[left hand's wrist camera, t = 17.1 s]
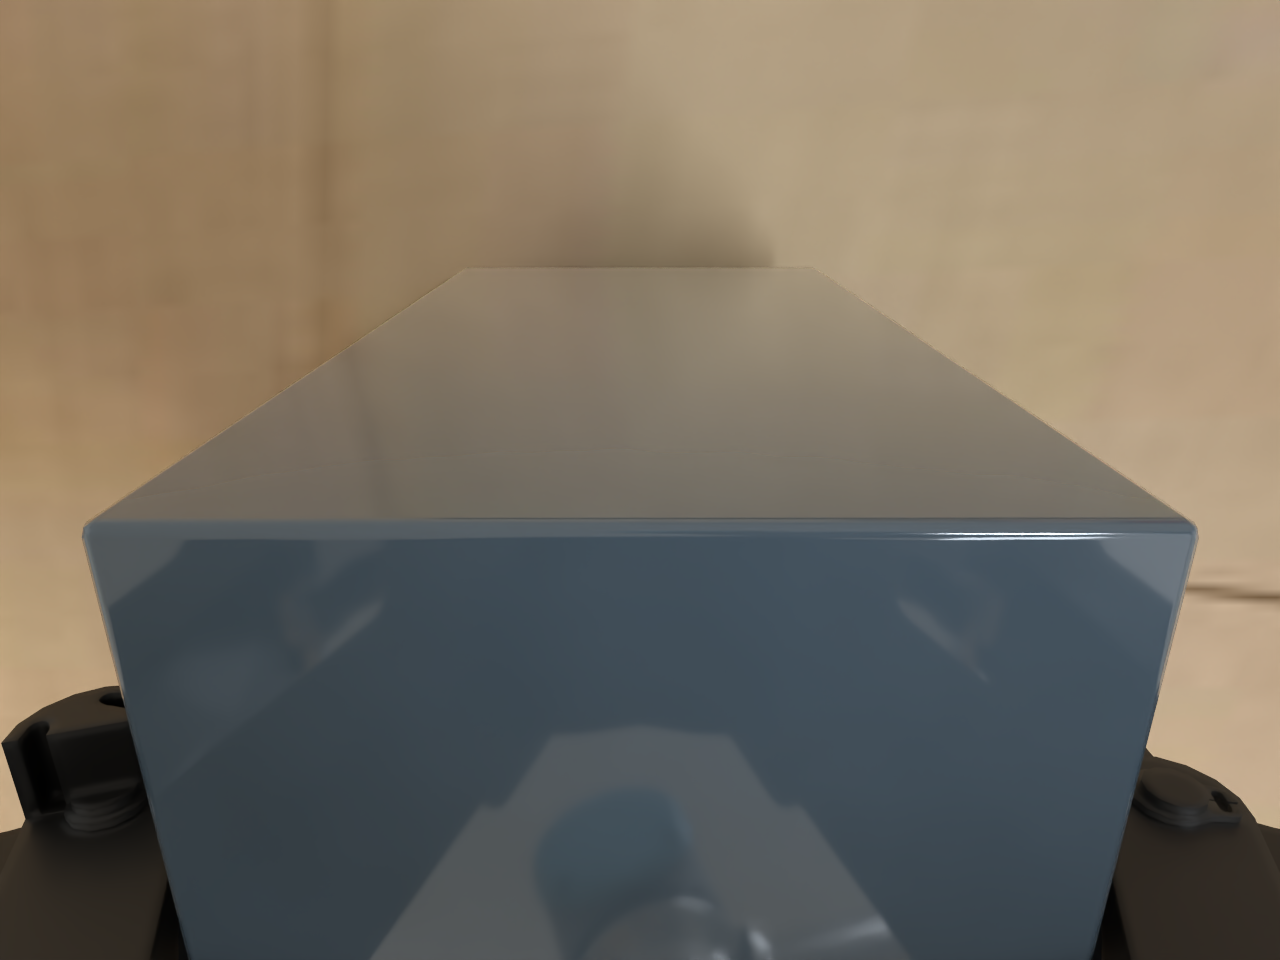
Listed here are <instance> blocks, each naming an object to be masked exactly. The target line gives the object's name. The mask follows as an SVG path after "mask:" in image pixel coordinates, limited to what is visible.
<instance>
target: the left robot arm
mask: <svg viewBox="0 0 1280 960" xmlns="http://www.w3.org/2000/svg"><path fill="white" fill-rule="evenodd" d="M1 744H2V747H3V750H4V753H5V756H6V759H7V762H8V765H9V769H10V772H11V775H12V778H13V781H14V784H15V787H16V791H17V794H18V797H19V800H20V803H21V806H22V809H23V812H24V816H25V822H24V824H23V826H22V828H18V829H15V830H11V831H7V832H2V833H0V960H188V956H187V952H186V948H185V944H184V940H183V936H182V932H181V928H180V924H179V920H178V916H177V912H176V908H175V904H174V900H173V896H172V892H171V888H170V885H169V881H168V877H167V873H166V869H165V865H164V861H163V857H162V853H161V849H160V845H159V841H158V837H157V833H156V829H155V825H154V821H153V817H152V813H151V809H150V805H149V801H148V797H147V793H146V790H145V786H144V782H143V778H142V774H141V770H140V766H139V762H138V758H137V754H136V750H135V746H134V742H133V738H132V734H131V730H130V726H129V722H128V718H127V714H126V710H125V706H124V702H123V698H122V695H121V691H120V687H119V686H109V687H103V688H99V689H95V690H91V691H87V692H83V693H79V694H75V695H72V696H70V697H67V698H65V699H63V700H60V701H58V702H55V703H53V704H51V705H48V706H46V707H44V708H42V709H40V710H39V711H37V712H36V713H34V714H33V715H31V716H30V717H28V718H27V719H25V720H24V721H22V722H21V723H19V724H18V725H17V726H16V727H15V728H14V729H13V730H12V731H11V733H10V734H9V735H8V736H7V737H6V738H5V739H4V740H3V742H2V743H1ZM1092 960H1280V829H1277V828H1273V827H1269V826H1265V825H1262V824H1258V823H1257V822H1256V820H1255V818H1254V817H1253V815H1252V814H1251V812H1250V811H1249V810H1248V808H1247V807H1246V806H1245V804H1244V803H1243V802H1242V800H1241V799H1240V798H1239V797H1238V796H1236V795H1235V794H1234V793H1232V792H1231V791H1230V790H1228V789H1227V788H1226V787H1224V786H1223V785H1222V784H1221V783H1219V782H1218V781H1217V780H1215V779H1213V778H1211V777H1209V776H1207V775H1205V774H1203V773H1201V772H1199V771H1197V770H1195V769H1193V768H1190V767H1188V766H1186V765H1183V764H1179V763H1176V762H1172V761H1169V760H1165V759H1162V758H1158V757H1153V756H1152V755H1151V753H1150V752H1149V751H1148V750H1147V749H1146V748H1145V752H1144V756H1143V760H1142V764H1141V768H1140V772H1139V776H1138V780H1137V784H1136V788H1135V791H1134V795H1133V799H1132V803H1131V807H1130V811H1129V815H1128V819H1127V823H1126V827H1125V831H1124V835H1123V839H1122V843H1121V847H1120V851H1119V855H1118V859H1117V863H1116V867H1115V871H1114V875H1113V878H1112V882H1111V886H1110V890H1109V894H1108V898H1107V902H1106V906H1105V910H1104V914H1103V918H1102V922H1101V926H1100V930H1099V934H1098V938H1097V942H1096V946H1095V950H1094V954H1093V958H1092Z"/></svg>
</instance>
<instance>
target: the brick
mask: <svg viewBox="0 0 1280 960" xmlns="http://www.w3.org/2000/svg"><path fill="white" fill-rule="evenodd" d="M82 540H83V544H84V548H85V552H86V556H87V560H88V564H89V568H90V572H91V576H92V580H93V584H94V588H95V592H96V596H97V600H98V603H99V607H100V611H101V615H102V619H103V623H104V627H105V631H106V635H107V639H108V643H109V647H110V651H111V655H112V659H113V663H114V667H115V671H116V675H117V679H118V683H119V687H120V691H121V695H122V698H123V702H124V706H125V710H126V714H127V718H128V722H129V726H130V730H131V734H132V738H133V742H134V746H135V750H136V754H137V758H138V762H139V766H140V770H141V774H142V778H143V782H144V786H145V790H146V793H147V797H148V801H149V805H150V809H151V813H152V817H153V821H154V825H155V829H156V833H157V837H158V841H159V845H160V849H161V853H162V857H163V861H164V865H165V869H166V873H167V877H168V881H169V885H170V888H171V892H172V896H173V900H174V904H175V908H176V912H177V916H178V920H179V924H180V928H181V932H182V936H183V940H184V944H185V948H186V952H187V956H188V960H1092V958H1093V954H1094V950H1095V946H1096V942H1097V938H1098V934H1099V930H1100V926H1101V922H1102V918H1103V914H1104V910H1105V906H1106V902H1107V898H1108V894H1109V890H1110V886H1111V882H1112V878H1113V875H1114V871H1115V867H1116V863H1117V859H1118V855H1119V851H1120V847H1121V843H1122V839H1123V835H1124V831H1125V827H1126V823H1127V819H1128V815H1129V811H1130V807H1131V803H1132V799H1133V795H1134V791H1135V788H1136V784H1137V780H1138V776H1139V772H1140V768H1141V764H1142V760H1143V756H1144V752H1145V748H1146V744H1147V740H1148V736H1149V732H1150V728H1151V724H1152V720H1153V716H1154V712H1155V708H1156V704H1157V701H1158V697H1159V693H1160V689H1161V685H1162V681H1163V677H1164V673H1165V669H1166V665H1167V661H1168V657H1169V653H1170V649H1171V645H1172V641H1173V637H1174V633H1175V629H1176V625H1177V621H1178V617H1179V614H1180V610H1181V606H1182V602H1183V598H1184V594H1185V590H1186V586H1187V582H1188V578H1189V574H1190V570H1191V566H1192V562H1193V558H1194V554H1195V550H1196V546H1197V542H1198V530H1197V527H1196V525H1195V523H1194V522H1193V521H1192V520H1190V519H1189V518H1187V517H1186V516H1184V515H1183V514H1181V513H1180V512H1178V511H1177V510H1175V509H1174V508H1172V507H1171V506H1169V505H1168V504H1167V503H1165V502H1164V501H1162V500H1161V499H1159V498H1158V497H1156V496H1155V495H1153V494H1152V493H1150V492H1149V491H1147V490H1146V489H1144V488H1143V487H1141V486H1140V485H1138V484H1137V483H1135V482H1134V481H1132V480H1131V479H1129V478H1128V477H1126V476H1125V475H1123V474H1122V473H1120V472H1119V471H1117V470H1116V469H1114V468H1113V467H1111V466H1110V465H1108V464H1107V463H1105V462H1104V461H1102V460H1101V459H1099V458H1098V457H1096V456H1095V455H1093V454H1092V453H1090V452H1089V451H1087V450H1086V449H1084V448H1083V447H1081V446H1080V445H1078V444H1077V443H1075V442H1074V441H1073V440H1071V439H1070V438H1068V437H1067V436H1065V435H1064V434H1062V433H1061V432H1059V431H1058V430H1056V429H1055V428H1053V427H1052V426H1050V425H1049V424H1047V423H1046V422H1044V421H1043V420H1041V419H1040V418H1038V417H1037V416H1035V415H1034V414H1032V413H1031V412H1029V411H1028V410H1026V409H1025V408H1023V407H1022V406H1020V405H1019V404H1017V403H1016V402H1014V401H1013V400H1011V399H1010V398H1008V397H1007V396H1005V395H1004V394H1002V393H1001V392H999V391H998V390H996V389H995V388H993V387H992V386H990V385H989V384H987V383H986V382H984V381H983V380H981V379H980V378H979V377H977V376H976V375H974V374H973V373H971V372H970V371H968V370H967V369H965V368H964V367H962V366H961V365H959V364H958V363H956V362H955V361H953V360H952V359H950V358H949V357H947V356H946V355H944V354H943V353H941V352H940V351H938V350H937V349H935V348H934V347H932V346H931V345H929V344H928V343H926V342H925V341H923V340H922V339H920V338H919V337H917V336H916V335H914V334H913V333H911V332H910V331H908V330H907V329H905V328H904V327H902V326H901V325H899V324H898V323H896V322H895V321H893V320H892V319H890V318H889V317H887V316H886V315H885V314H883V313H882V312H880V311H879V310H877V309H876V308H874V307H873V306H871V305H870V304H868V303H867V302H865V301H864V300H862V299H861V298H859V297H858V296H856V295H855V294H853V293H852V292H850V291H849V290H847V289H846V288H844V287H843V286H841V285H840V284H838V283H837V282H835V281H834V280H832V279H831V278H829V277H828V276H826V275H825V274H823V273H822V272H820V271H819V270H817V269H815V268H813V267H468V268H465V269H463V270H462V271H460V272H459V273H457V274H456V275H454V276H453V277H451V278H450V279H448V280H447V281H445V282H444V283H442V284H441V285H439V286H438V287H436V288H435V289H433V290H432V291H431V292H429V293H428V294H426V295H425V296H423V297H422V298H420V299H419V300H417V301H416V302H414V303H413V304H411V305H410V306H408V307H407V308H405V309H404V310H402V311H401V312H399V313H398V314H396V315H395V316H393V317H392V318H390V319H389V320H387V321H386V322H384V323H383V324H381V325H380V326H378V327H377V328H375V329H374V330H372V331H371V332H369V333H368V334H366V335H365V336H363V337H362V338H360V339H359V340H357V341H356V342H354V343H353V344H351V345H350V346H348V347H347V348H345V349H344V350H342V351H341V352H339V353H338V354H336V355H335V356H333V357H332V358H330V359H329V360H327V361H326V362H324V363H323V364H321V365H320V366H318V367H317V368H315V369H314V370H312V371H311V372H309V373H308V374H306V375H305V376H303V377H302V378H300V379H299V380H297V381H296V382H294V383H293V384H292V385H290V386H289V387H287V388H286V389H284V390H283V391H281V392H280V393H278V394H277V395H275V396H274V397H272V398H271V399H269V400H268V401H266V402H265V403H263V404H262V405H260V406H259V407H257V408H256V409H254V410H253V411H251V412H250V413H248V414H247V415H245V416H244V417H242V418H241V419H239V420H238V421H236V422H235V423H233V424H232V425H230V426H229V427H227V428H226V429H224V430H223V431H221V432H220V433H218V434H217V435H215V436H214V437H212V438H211V439H209V440H208V441H206V442H205V443H203V444H202V445H200V446H199V447H197V448H196V449H194V450H193V451H191V452H190V453H188V454H187V455H185V456H184V457H182V458H181V459H179V460H178V461H176V462H175V463H173V464H172V465H170V466H169V467H167V468H166V469H164V470H163V471H161V472H160V473H158V474H157V475H156V476H154V477H153V478H151V479H150V480H148V481H147V482H145V483H144V484H142V485H141V486H139V487H138V488H136V489H135V490H133V491H132V492H130V493H129V494H127V495H126V496H124V497H123V498H121V499H120V500H118V501H117V502H115V503H114V504H112V505H111V506H109V507H108V508H106V509H105V510H103V511H102V512H100V513H99V514H97V515H96V516H94V517H93V518H91V519H90V520H88V521H87V522H86V524H85V525H84V527H83V533H82Z"/></svg>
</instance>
